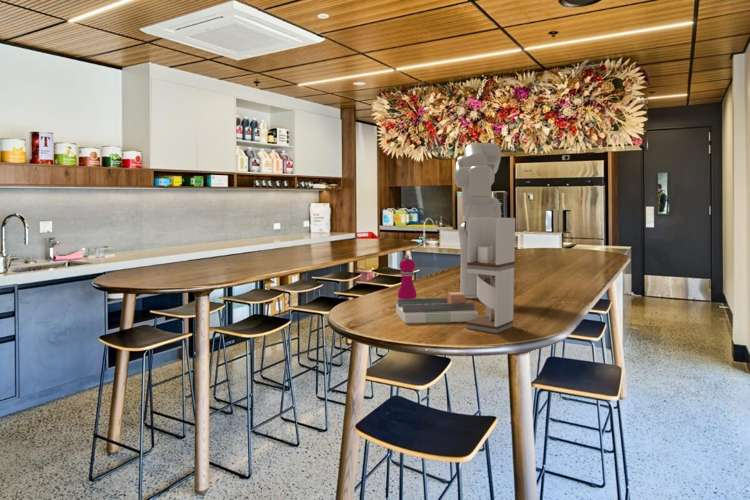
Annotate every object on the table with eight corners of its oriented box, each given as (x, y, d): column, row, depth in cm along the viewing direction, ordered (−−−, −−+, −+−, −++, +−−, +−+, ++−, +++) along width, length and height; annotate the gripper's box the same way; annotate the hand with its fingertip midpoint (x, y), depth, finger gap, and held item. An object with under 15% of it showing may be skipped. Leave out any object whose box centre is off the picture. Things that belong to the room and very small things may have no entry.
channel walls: (465, 303, 193) (465, 297, 193) (474, 310, 182) (475, 303, 182) (397, 305, 190) (397, 298, 190) (403, 312, 179) (403, 305, 179)
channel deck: (462, 310, 197) (462, 302, 197) (477, 321, 179) (478, 312, 179) (395, 312, 194) (396, 304, 194) (404, 323, 176) (405, 314, 176)
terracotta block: (461, 305, 190) (461, 292, 190) (465, 308, 185) (465, 294, 185) (447, 306, 189) (447, 292, 189) (451, 309, 184) (451, 294, 184)
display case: (483, 321, 178) (485, 217, 175) (513, 326, 171) (515, 218, 168) (466, 328, 169) (467, 218, 166) (496, 333, 163) (499, 219, 159)
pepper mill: (409, 308, 199) (409, 256, 198) (393, 306, 204) (394, 254, 202) (420, 305, 205) (420, 254, 203) (404, 303, 210) (404, 253, 208)
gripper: (496, 201, 189) (495, 253, 191) (455, 201, 187) (455, 253, 189) (504, 201, 182) (503, 255, 184) (462, 201, 180) (461, 255, 182)
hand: (478, 254), depth 186 cm, fingers closed
